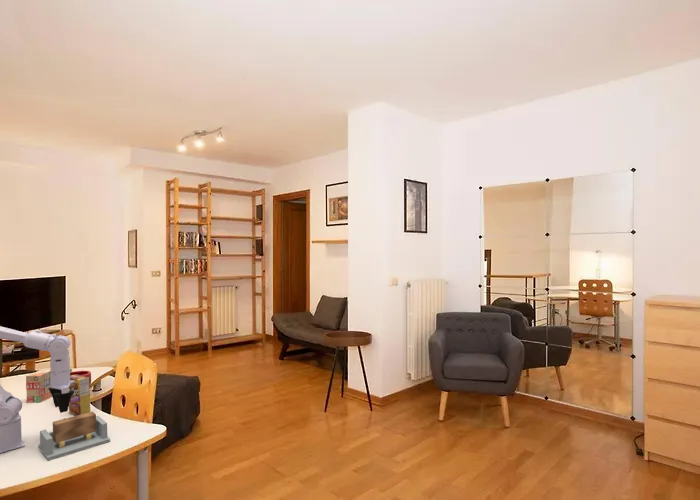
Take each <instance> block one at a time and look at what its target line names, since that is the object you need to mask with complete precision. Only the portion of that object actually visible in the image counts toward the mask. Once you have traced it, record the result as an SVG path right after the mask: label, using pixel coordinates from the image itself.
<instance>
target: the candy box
mask: <svg viewBox="0 0 700 500" xmlns="http://www.w3.org/2000/svg"><path fill="white" fill-rule="evenodd" d="M71 380H73V381H74V383H72V384H70V386H69V391H72V390H73V391H74V393H73V395H72V397H71V399H70V402H69V407H68V413H69V414H71V415H73V416H78V415H82V414H85V413H89V412H91V393H90V392H91V391H90V389H91V387H90V388H89V377H85V376H81V375H78V374H76V375H72V376H70V381H71Z"/></svg>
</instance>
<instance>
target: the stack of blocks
mask: <svg viewBox="0 0 700 500" xmlns="http://www.w3.org/2000/svg"><path fill="white" fill-rule="evenodd" d="M70 372H73V370H72V368H70ZM25 377H26V378H25V389H26V404H34V403H35V404H39V403H40V404H41V403H43V402H45V401H47V400H49V399H50V398H53V397H52V395H51V393H50V391H49V389H48V388H50V384H51V374H50V367H45V368H42V369H40V370H37V371H36V372H32V373H30V374H27V375H26V376H25Z"/></svg>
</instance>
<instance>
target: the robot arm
mask: <svg viewBox="0 0 700 500" xmlns="http://www.w3.org/2000/svg"><path fill="white" fill-rule="evenodd" d="M0 339H1V340H6V341H12V342H18V343H22V344H23V346H24V347H26V348H29V349H35V350H40V351H44V352H47V351H48V353H49V355H50V359H49V362H50V367H49V368H50V374H51V384H50V388H48V389H49V391H50V393H51V395H52V397H51V398H52V400H53V404H54V407H55V408H58V410H59V413H60V414H61V413H66V412H69V402H70V399H71V397H72V395H73V393H74V391H73V390H72V391H69V386H70V384H72V383H74V381H73V380H71V381H70V369H71V364H70V363H71V361H70V351H69V350H70V349H69V348H70V346H71V340H70V338H69V337H67V336H65V335H63V334H60V335H57V334H56V333H53V334H50V333H46V332H42V330H40V329H37V330H31V331H29V332H25V331H24V332H23V331H19V330H18V329H17V330H16V329H14V328H13V329H12V328H8V327H4V326H1V325H0ZM22 409H23V402H22V399H20V398H18V397H15V396H14V395H13V394H12V393H11V392H10V391H7V390H6V389H4V388H3V386H2V385H1V384H0V454H2V453H4V452H9V451H13V450H16V449H20V448H23V447H25V446H26V444H25V443H24V440H22V416H21V415H20V411H21V410H22Z"/></svg>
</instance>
